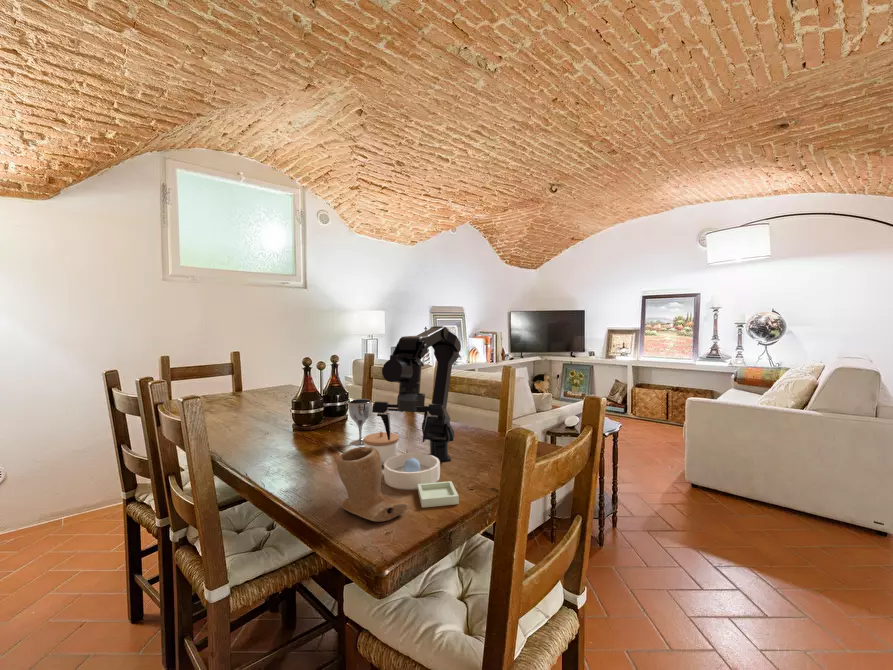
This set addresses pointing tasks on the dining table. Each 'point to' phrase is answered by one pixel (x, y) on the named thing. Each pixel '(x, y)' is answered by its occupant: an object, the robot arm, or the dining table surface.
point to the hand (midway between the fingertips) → (406, 440)
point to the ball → (412, 465)
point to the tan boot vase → (366, 485)
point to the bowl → (409, 480)
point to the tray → (437, 494)
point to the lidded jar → (383, 444)
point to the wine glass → (359, 415)
